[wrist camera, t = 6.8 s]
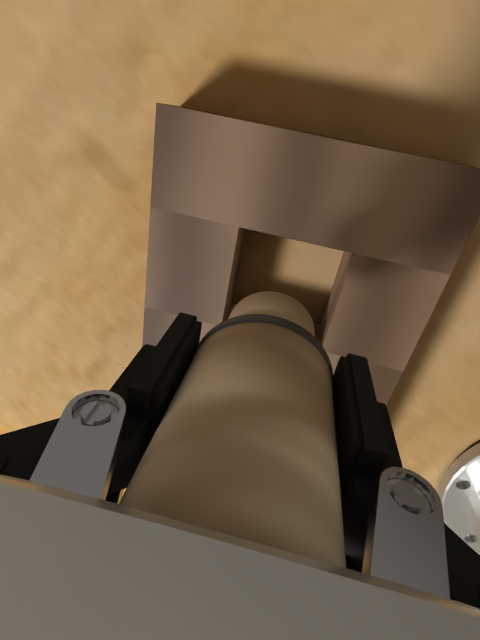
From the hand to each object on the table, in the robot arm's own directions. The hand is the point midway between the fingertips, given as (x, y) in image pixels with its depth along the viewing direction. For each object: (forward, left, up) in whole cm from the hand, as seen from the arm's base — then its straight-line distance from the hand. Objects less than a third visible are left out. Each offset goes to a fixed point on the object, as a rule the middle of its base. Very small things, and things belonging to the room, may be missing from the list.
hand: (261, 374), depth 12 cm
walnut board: (0, +4, -10) cm, 11 cm away
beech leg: (0, 0, -3) cm, 3 cm away
